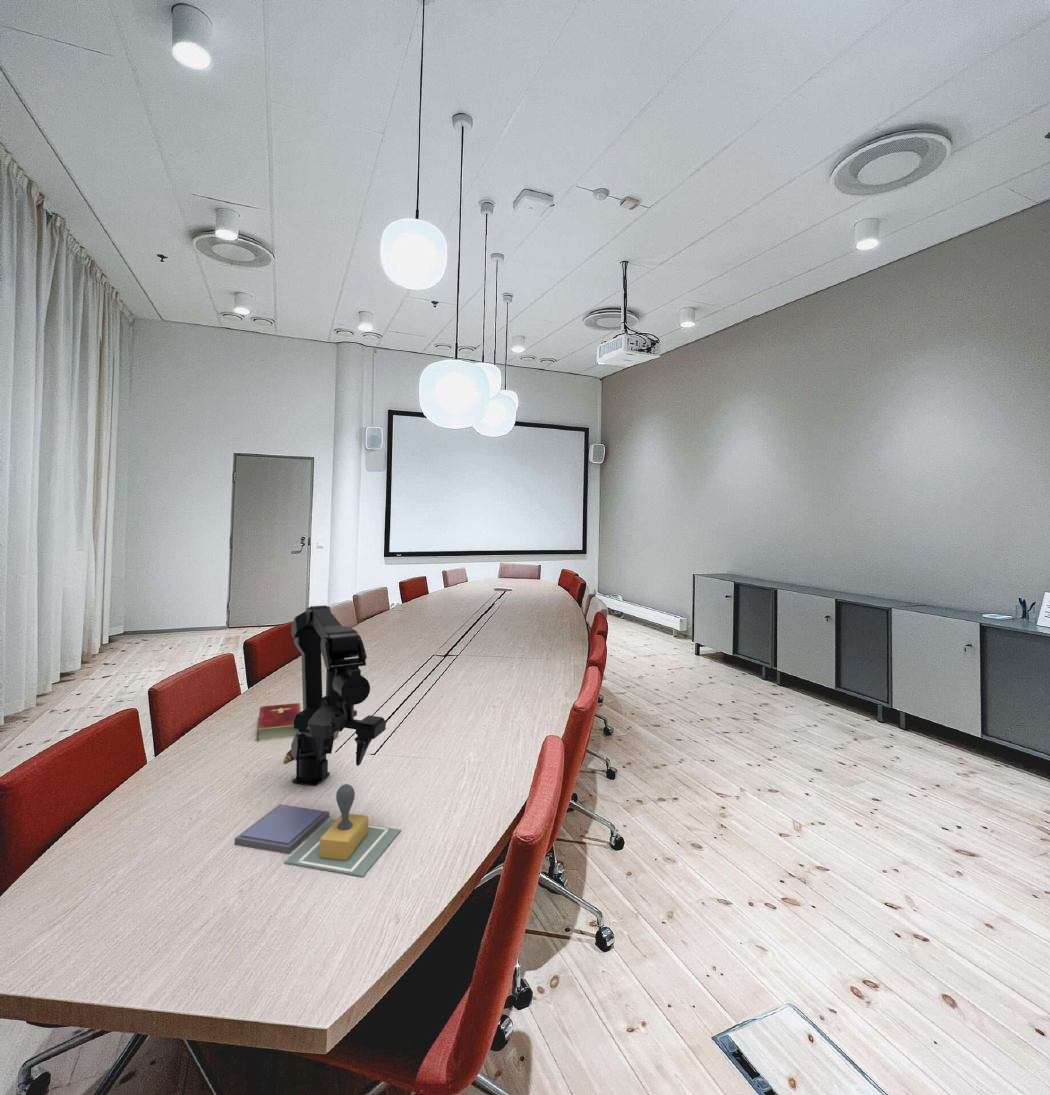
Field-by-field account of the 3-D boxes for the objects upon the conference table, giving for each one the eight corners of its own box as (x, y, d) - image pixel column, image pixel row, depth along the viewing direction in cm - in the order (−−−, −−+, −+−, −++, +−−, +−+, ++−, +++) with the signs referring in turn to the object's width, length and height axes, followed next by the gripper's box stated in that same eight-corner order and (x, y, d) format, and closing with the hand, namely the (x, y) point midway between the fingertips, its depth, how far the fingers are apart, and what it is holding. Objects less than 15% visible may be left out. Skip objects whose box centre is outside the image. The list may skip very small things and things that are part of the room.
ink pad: (234, 844, 113) (234, 836, 113) (279, 809, 127) (279, 802, 127) (289, 853, 110) (289, 845, 110) (329, 817, 124) (329, 810, 124)
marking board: (284, 863, 107) (284, 861, 107) (331, 820, 123) (331, 818, 123) (363, 877, 104) (363, 875, 104) (401, 831, 119) (401, 829, 119)
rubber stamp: (347, 860, 108) (348, 798, 108) (318, 857, 109) (319, 795, 108) (368, 832, 118) (369, 775, 117) (341, 829, 119) (342, 772, 118)
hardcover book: (256, 743, 164) (257, 728, 164) (259, 718, 183) (259, 705, 183) (302, 737, 169) (302, 723, 168) (300, 714, 188) (300, 701, 188)
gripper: (276, 696, 116) (275, 772, 117) (361, 707, 112) (359, 786, 113) (309, 681, 127) (307, 750, 128) (387, 690, 123) (385, 762, 124)
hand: (338, 762), depth 123 cm, fingers open, 9 cm apart
